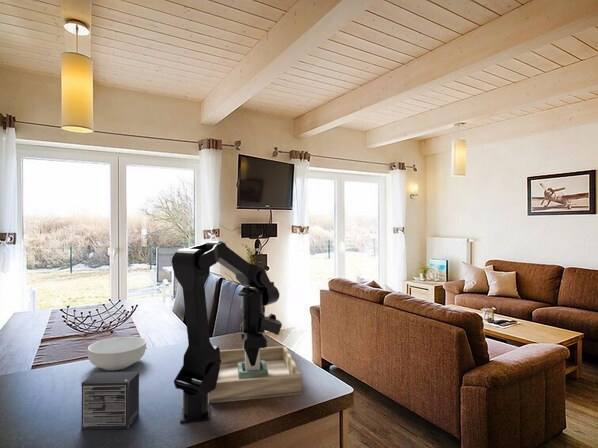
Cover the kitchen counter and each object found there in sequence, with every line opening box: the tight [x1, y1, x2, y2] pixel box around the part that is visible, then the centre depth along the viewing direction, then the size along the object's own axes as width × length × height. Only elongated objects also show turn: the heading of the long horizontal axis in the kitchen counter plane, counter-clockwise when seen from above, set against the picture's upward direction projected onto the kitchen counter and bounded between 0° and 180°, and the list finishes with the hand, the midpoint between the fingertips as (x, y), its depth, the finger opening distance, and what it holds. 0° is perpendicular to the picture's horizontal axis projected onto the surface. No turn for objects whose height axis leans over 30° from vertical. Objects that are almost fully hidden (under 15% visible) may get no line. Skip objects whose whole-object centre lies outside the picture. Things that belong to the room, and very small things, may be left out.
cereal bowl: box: [87, 336, 147, 372], centre depth 116 cm, size 17×17×7 cm
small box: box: [80, 371, 140, 431], centre depth 83 cm, size 11×6×10 cm, turn 92°
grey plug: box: [245, 349, 260, 371], centre depth 106 cm, size 4×4×8 cm
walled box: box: [208, 345, 303, 404], centre depth 106 cm, size 24×24×5 cm
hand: (252, 362), depth 106 cm, fingers closed on grey plug, 4 cm apart
